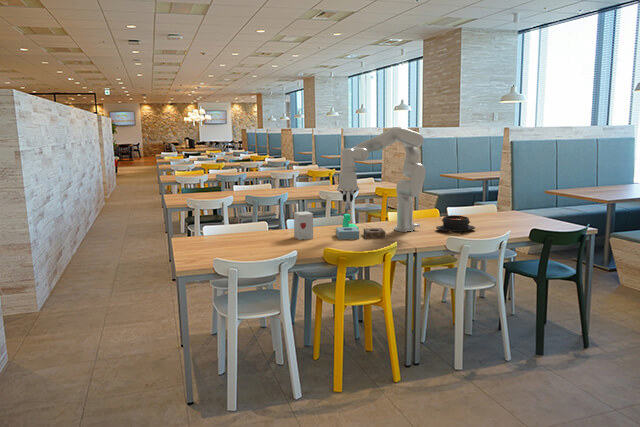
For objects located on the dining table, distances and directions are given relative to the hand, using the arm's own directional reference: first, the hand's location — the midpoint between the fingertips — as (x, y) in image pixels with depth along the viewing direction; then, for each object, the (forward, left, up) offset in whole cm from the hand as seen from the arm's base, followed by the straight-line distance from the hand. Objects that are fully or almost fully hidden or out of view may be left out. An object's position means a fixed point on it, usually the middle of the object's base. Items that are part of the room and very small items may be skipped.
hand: (347, 201), depth 284 cm
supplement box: (+26, 0, -22) cm, 34 cm away
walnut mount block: (-16, 0, -21) cm, 27 cm away
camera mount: (-4, -19, -22) cm, 29 cm away
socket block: (0, 0, -21) cm, 21 cm away
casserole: (-69, -9, -22) cm, 73 cm away
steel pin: (0, 0, -5) cm, 5 cm away
